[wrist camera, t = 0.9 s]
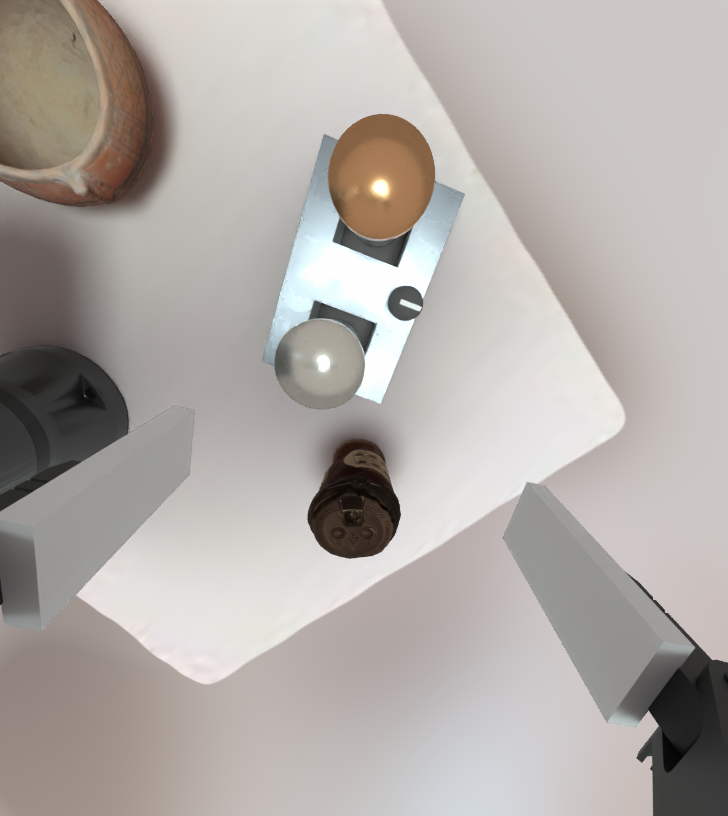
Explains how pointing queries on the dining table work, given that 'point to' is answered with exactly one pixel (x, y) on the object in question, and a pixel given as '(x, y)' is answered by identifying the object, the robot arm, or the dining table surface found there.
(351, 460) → the coffee cup
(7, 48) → the bowl
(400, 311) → the knob
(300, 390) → the white light bulb
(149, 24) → the dining table surface
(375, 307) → the mount
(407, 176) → the orange light bulb
